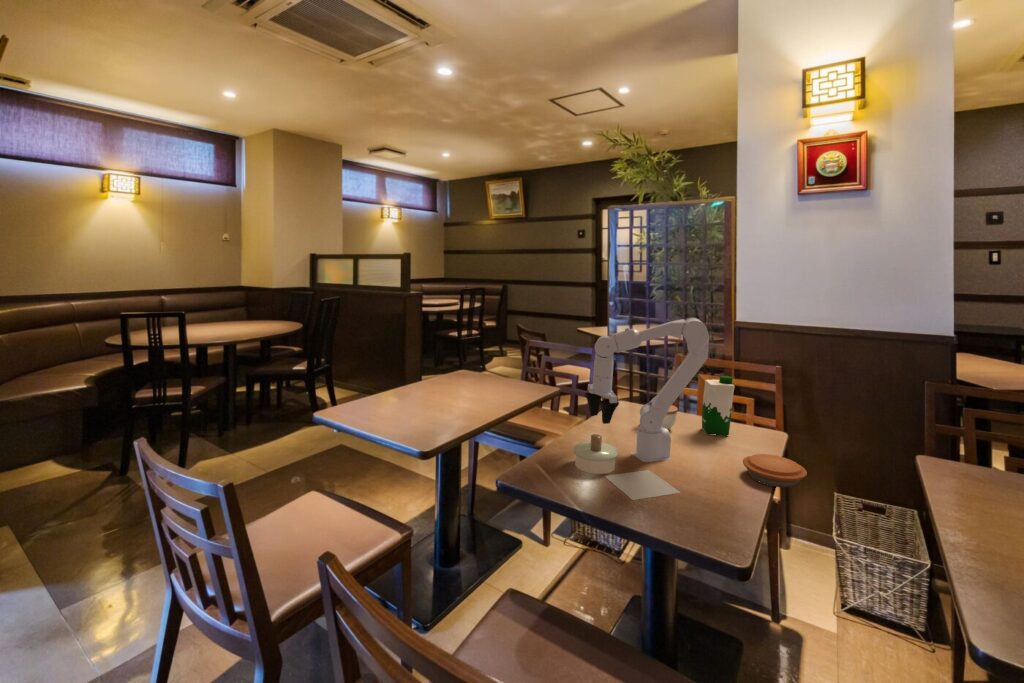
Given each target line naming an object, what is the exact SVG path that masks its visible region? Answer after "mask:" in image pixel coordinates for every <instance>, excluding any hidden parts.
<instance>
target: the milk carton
mask: <svg viewBox="0 0 1024 683" xmlns="http://www.w3.org/2000/svg"><path fill="white" fill-rule="evenodd" d="M733 379H734V377H733V376H732V375H731V376H730V375H720V376H719V379H715V378H714V379H704V386H703V398H702V412H701V429H702V428H703V429H704V430H703V429H702V430H703V432H704V433H705V432H706V433H707V434H716V435H715V436H718V435H729V436H730V429H731V428H730V427H731V419H732V411H733V410H732V409H733V399H734V393H735V392H734V391H735V387H736V386H735V384H734V383H733ZM706 433H705V434H706ZM707 434H706V435H707Z"/></svg>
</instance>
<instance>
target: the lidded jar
mask: <svg viewBox="0 0 1024 683" xmlns="http://www.w3.org/2000/svg"><path fill="white" fill-rule="evenodd" d="M678 410H679V409H678V407H677V406H675V405H673V404H672V405H671V406H670V408H669V410H668V412H667V414H666V416H665V417H664V419H663V422H662V426H661V427H664V428H666V429H667V430H668V429H669V430H670V429H671V428H672V427H674V425H675V423H676V422H677V417H678ZM669 430H668V431H669Z"/></svg>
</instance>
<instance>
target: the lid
mask: <svg viewBox="0 0 1024 683" xmlns="http://www.w3.org/2000/svg"><path fill="white" fill-rule="evenodd" d="M602 440H603V435H601V434H598V433H596V434H595V433H594V434H591V436H590V441H583V442H580V443H579V442H578V443H576V444H575V445H574V447H573V453H574V454H575V456H576V455H577V456H579V457H581V458H583V459H587V460H592V461H609V460H613V459H615V460H616V459H617V458H618V456H619V450H618V448H616V447H615V445H611V444H609V443H606V442H603V441H602Z"/></svg>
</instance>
